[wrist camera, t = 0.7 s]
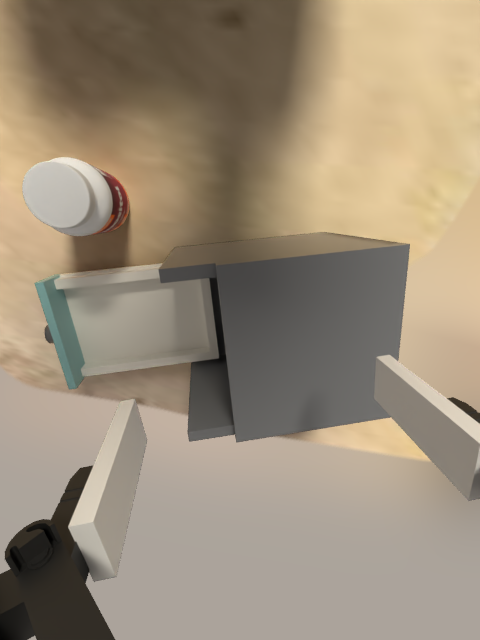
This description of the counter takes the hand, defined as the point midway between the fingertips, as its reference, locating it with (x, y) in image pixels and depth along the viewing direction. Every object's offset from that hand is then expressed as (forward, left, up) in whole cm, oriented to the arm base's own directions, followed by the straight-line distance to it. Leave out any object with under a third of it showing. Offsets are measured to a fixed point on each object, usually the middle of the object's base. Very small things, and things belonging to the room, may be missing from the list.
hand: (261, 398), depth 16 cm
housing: (+1, +4, -23) cm, 23 cm away
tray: (+1, -11, -22) cm, 24 cm away
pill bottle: (-12, -12, -23) cm, 29 cm away
